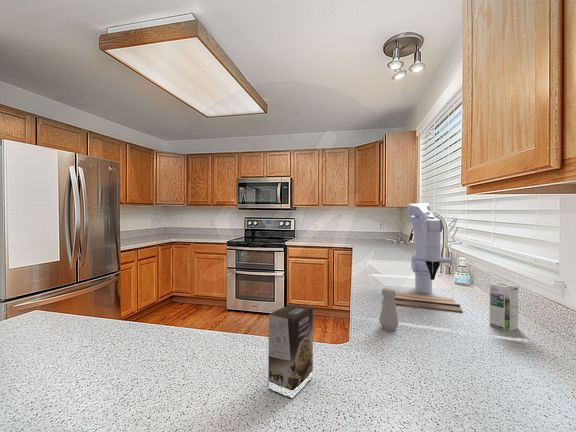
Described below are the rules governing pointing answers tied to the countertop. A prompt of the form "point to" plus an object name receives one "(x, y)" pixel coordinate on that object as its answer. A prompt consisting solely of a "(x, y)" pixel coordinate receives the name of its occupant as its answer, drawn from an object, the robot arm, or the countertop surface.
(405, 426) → the countertop surface
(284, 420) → the countertop surface
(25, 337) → the countertop surface
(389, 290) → the salt shaker
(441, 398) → the countertop surface
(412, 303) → the walnut board
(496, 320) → the syrup box
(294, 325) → the coffee box
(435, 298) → the teak plank
